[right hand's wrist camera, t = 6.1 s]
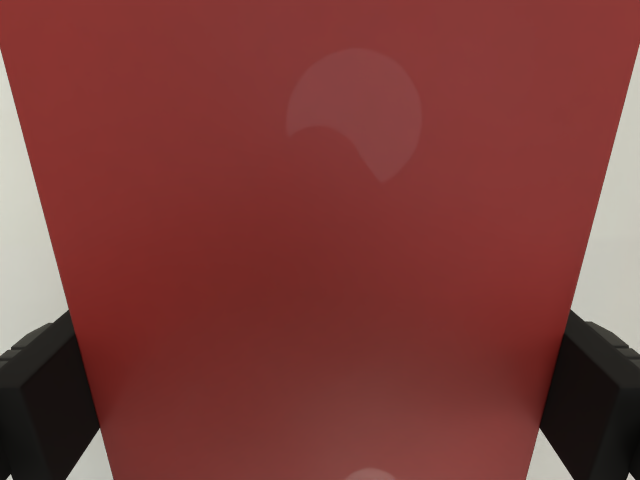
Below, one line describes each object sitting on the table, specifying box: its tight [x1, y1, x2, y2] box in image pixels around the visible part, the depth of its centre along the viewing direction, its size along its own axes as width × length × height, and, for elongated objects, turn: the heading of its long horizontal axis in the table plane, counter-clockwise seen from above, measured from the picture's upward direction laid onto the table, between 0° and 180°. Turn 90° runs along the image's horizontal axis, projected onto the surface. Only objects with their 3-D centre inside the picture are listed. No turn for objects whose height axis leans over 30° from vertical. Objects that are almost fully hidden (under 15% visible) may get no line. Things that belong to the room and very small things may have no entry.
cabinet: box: [0, 0, 640, 480], centre depth 13 cm, size 17×11×11 cm, turn 0°
